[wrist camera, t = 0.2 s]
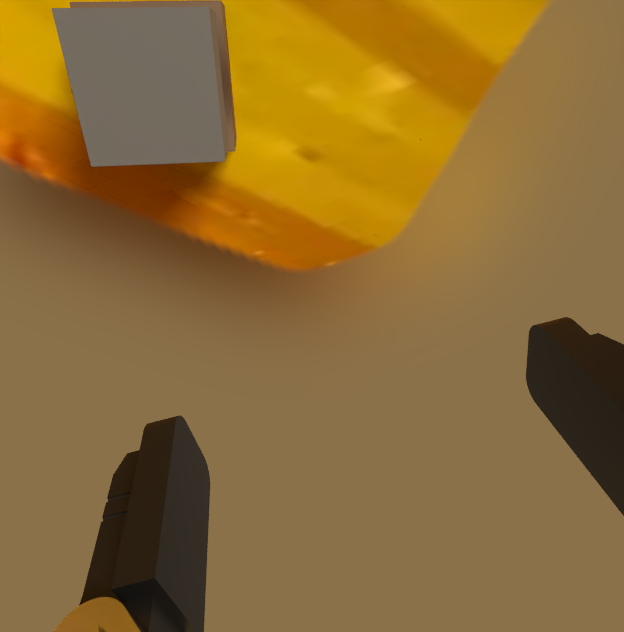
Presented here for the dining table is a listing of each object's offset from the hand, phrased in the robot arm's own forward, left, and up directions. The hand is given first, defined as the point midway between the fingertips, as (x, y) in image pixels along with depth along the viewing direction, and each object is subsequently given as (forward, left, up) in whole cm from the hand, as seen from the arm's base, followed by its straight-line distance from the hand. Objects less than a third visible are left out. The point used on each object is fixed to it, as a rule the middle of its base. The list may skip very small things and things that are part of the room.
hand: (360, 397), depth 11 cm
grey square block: (-6, -6, -23) cm, 25 cm away
